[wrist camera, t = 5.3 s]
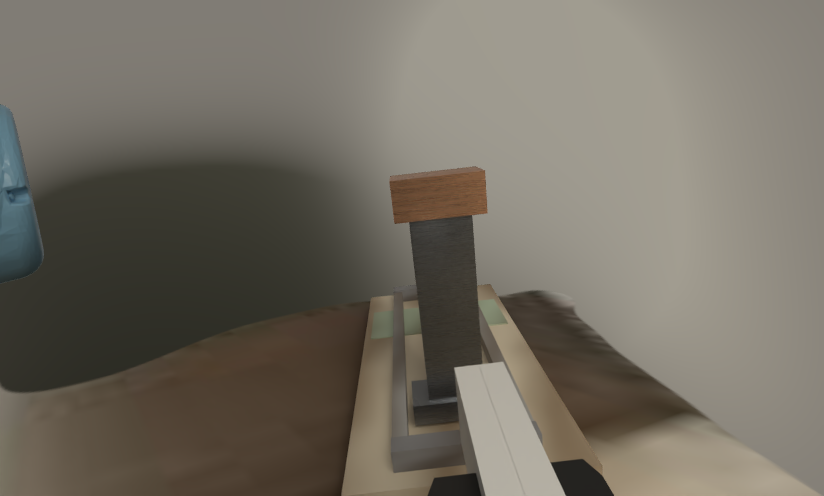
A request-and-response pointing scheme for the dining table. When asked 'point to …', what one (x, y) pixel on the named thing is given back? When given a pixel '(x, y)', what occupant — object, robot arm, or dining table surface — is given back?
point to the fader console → (441, 443)
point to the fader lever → (443, 278)
